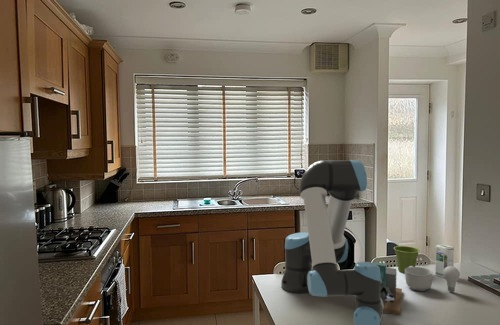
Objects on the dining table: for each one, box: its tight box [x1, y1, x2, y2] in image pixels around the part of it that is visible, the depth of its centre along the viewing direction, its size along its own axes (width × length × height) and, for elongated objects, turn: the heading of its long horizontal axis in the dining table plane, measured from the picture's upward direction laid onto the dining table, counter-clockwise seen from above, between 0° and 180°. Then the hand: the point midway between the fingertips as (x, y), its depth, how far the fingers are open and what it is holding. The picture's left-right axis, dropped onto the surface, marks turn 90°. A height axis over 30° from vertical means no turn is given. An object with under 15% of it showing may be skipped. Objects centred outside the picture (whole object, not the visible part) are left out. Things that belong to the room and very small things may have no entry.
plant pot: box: [393, 245, 420, 274], centre depth 177 cm, size 12×12×11 cm
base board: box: [382, 287, 403, 316], centre depth 144 cm, size 16×23×2 cm
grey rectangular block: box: [386, 267, 397, 299], centre depth 147 cm, size 12×8×10 cm, turn 66°
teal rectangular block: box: [372, 261, 387, 296], centre depth 147 cm, size 5×14×12 cm, turn 156°
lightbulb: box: [443, 266, 461, 293], centre depth 151 cm, size 6×6×11 cm
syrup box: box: [434, 244, 455, 279], centre depth 170 cm, size 6×6×14 cm
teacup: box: [404, 266, 433, 292], centre depth 157 cm, size 14×11×8 cm
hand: (379, 282), depth 140 cm, fingers closed
